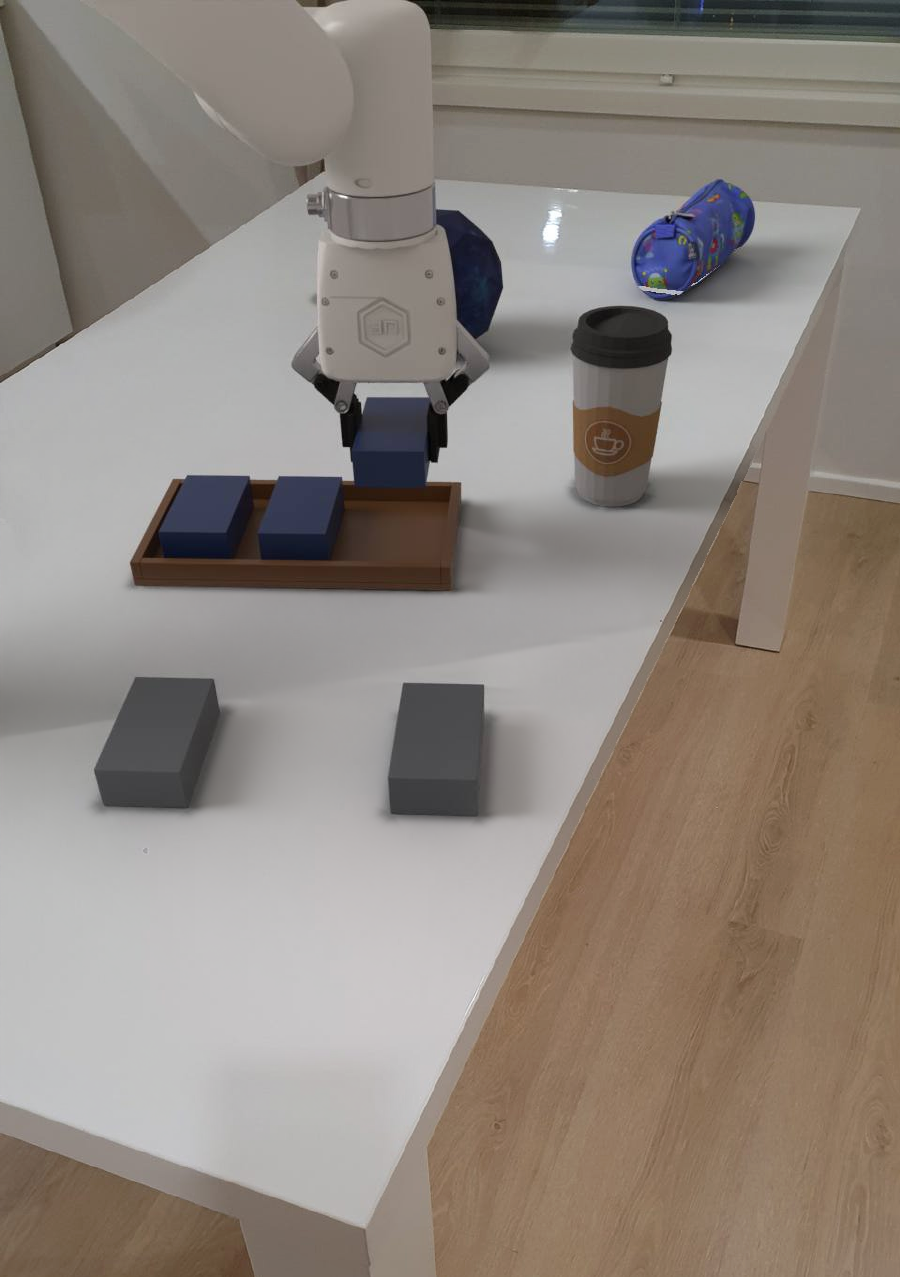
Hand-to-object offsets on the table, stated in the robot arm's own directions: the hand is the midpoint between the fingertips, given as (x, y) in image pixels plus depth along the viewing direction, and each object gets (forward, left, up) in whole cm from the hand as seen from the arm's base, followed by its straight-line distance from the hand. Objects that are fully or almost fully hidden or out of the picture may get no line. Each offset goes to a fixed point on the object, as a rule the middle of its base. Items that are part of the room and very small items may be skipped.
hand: (395, 453), depth 96 cm
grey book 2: (+5, -29, -8) cm, 31 cm away
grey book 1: (-13, -29, -8) cm, 33 cm away
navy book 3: (0, 0, 0) cm, 0 cm away
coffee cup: (+18, +10, -8) cm, 22 cm away
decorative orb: (0, +44, -8) cm, 45 cm away
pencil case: (+30, +68, -8) cm, 75 cm away
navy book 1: (-16, 0, -7) cm, 18 cm away
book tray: (-8, 0, -8) cm, 11 cm away
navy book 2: (-8, 0, -7) cm, 11 cm away
